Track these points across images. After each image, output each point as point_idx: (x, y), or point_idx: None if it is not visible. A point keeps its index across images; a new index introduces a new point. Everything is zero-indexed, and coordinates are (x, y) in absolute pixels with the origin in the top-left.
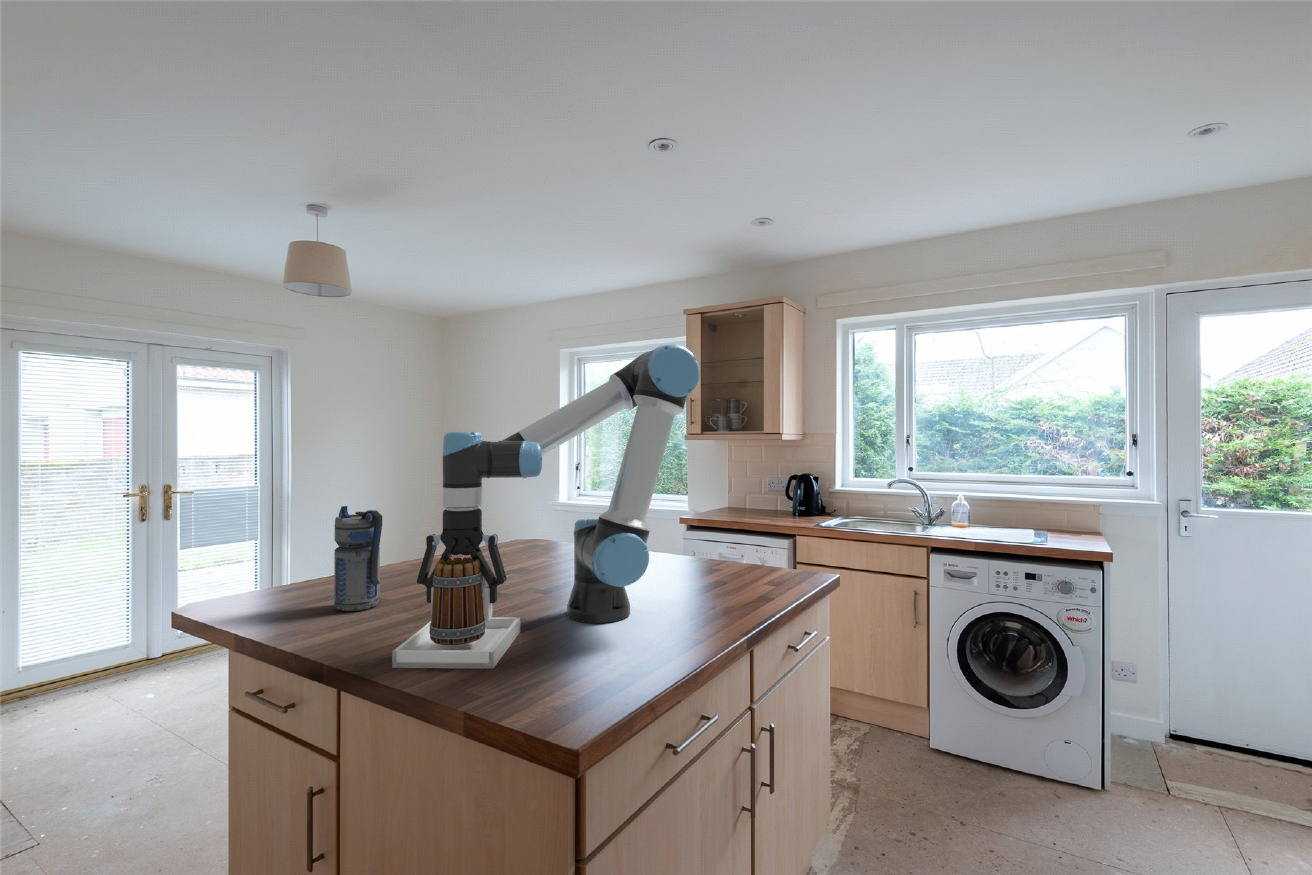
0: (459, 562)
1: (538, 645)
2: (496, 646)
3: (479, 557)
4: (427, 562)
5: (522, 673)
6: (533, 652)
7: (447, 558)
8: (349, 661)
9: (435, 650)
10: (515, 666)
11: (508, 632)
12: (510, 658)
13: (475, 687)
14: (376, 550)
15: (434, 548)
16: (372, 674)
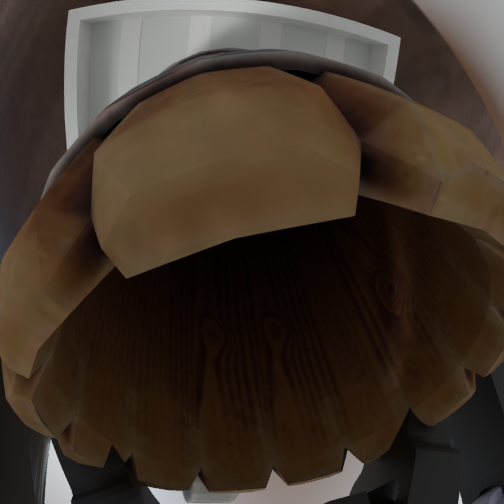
0: (291, 448)
1: (27, 197)
2: (68, 58)
3: (70, 482)
4: (495, 375)
5: (18, 7)
6: (20, 146)
7: (401, 448)
8: (461, 112)
9: (271, 12)
10: (37, 42)
11: None
12: (59, 94)
13: None
14: (450, 440)
15: (483, 476)
16: (405, 11)
